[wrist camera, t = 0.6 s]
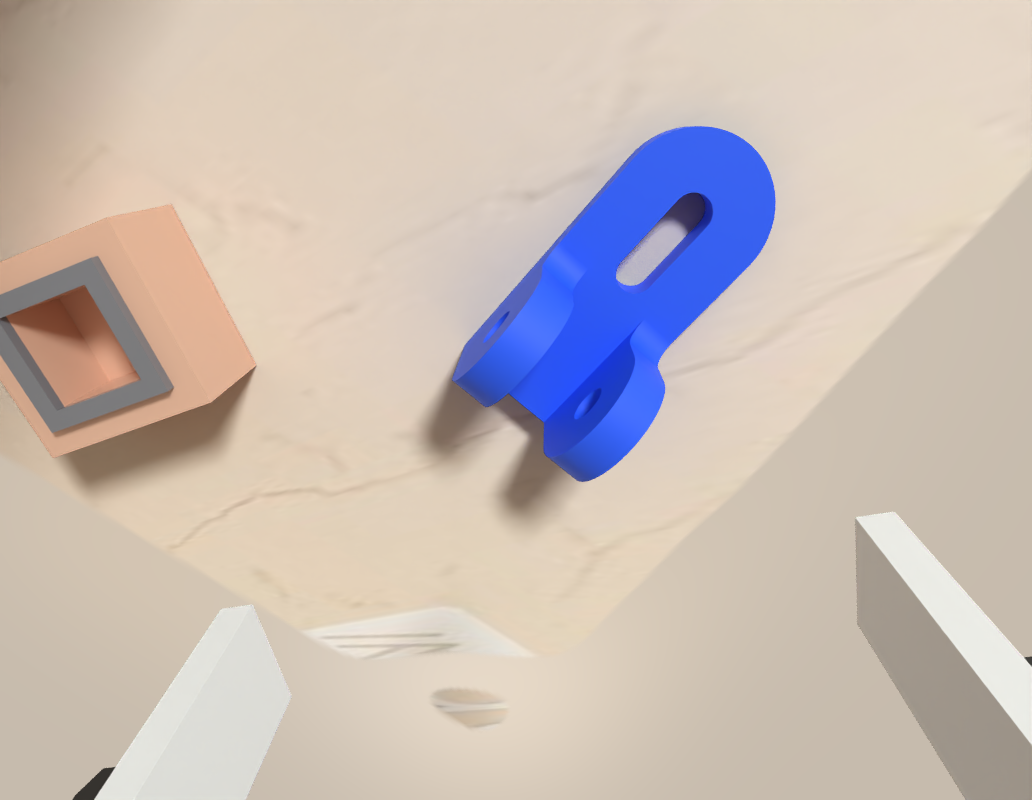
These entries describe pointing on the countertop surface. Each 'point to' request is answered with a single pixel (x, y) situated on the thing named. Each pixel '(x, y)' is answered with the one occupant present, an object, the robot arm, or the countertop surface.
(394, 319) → the countertop surface
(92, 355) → the peach square socket block
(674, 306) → the bracket
